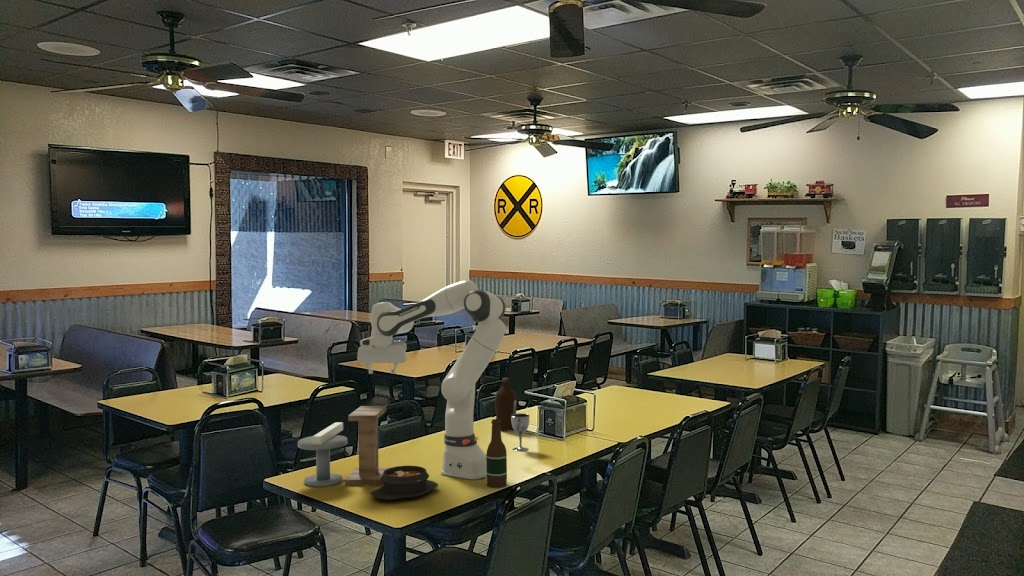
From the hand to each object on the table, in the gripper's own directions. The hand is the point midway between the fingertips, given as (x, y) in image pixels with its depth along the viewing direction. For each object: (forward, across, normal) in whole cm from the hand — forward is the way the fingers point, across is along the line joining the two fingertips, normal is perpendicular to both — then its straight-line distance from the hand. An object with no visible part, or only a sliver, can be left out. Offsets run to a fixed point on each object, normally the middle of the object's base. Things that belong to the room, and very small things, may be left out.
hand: (382, 373), depth 309 cm
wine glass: (+35, -58, -13) cm, 69 cm away
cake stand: (+36, +15, +34) cm, 51 cm away
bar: (+20, +15, +28) cm, 38 cm away
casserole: (+36, -18, +49) cm, 64 cm away
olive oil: (+35, -50, -53) cm, 81 cm away
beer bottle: (+35, -50, +38) cm, 72 cm away
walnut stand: (+36, -1, +30) cm, 47 cm away
